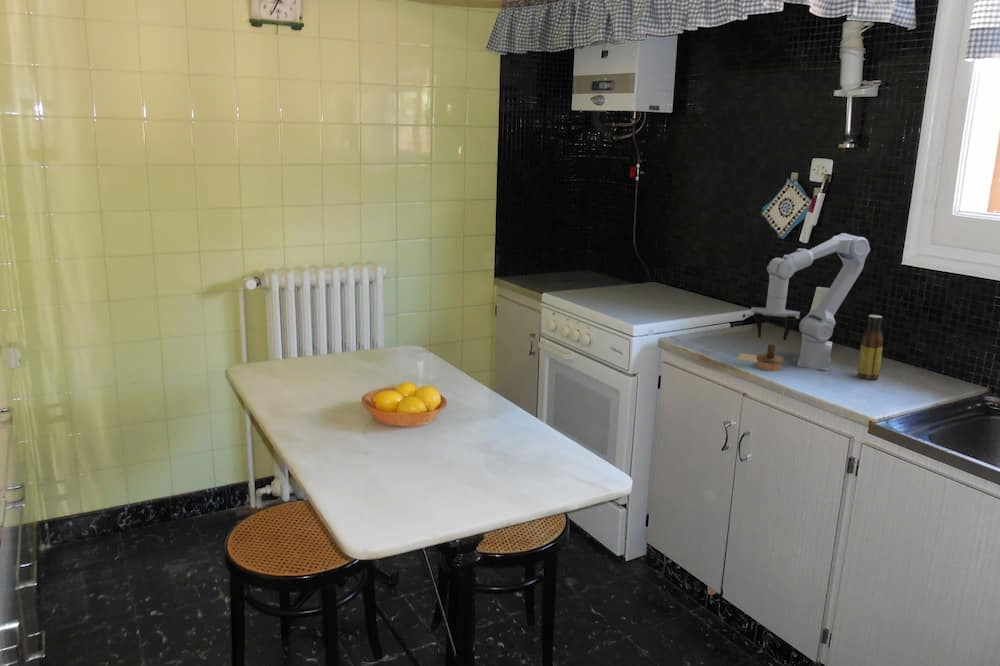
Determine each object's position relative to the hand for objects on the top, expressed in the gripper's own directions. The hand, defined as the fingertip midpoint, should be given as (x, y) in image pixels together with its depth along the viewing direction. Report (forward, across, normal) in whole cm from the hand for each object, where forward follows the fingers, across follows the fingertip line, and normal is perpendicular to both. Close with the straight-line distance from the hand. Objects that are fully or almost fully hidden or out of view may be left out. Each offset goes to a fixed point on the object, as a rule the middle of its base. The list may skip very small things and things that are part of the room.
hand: (771, 338), depth 255 cm
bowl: (+10, 0, +2) cm, 10 cm away
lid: (+7, 0, +1) cm, 7 cm away
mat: (+10, +5, -7) cm, 13 cm away
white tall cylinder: (+10, -15, -16) cm, 24 cm away
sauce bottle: (+10, -30, -2) cm, 32 cm away
